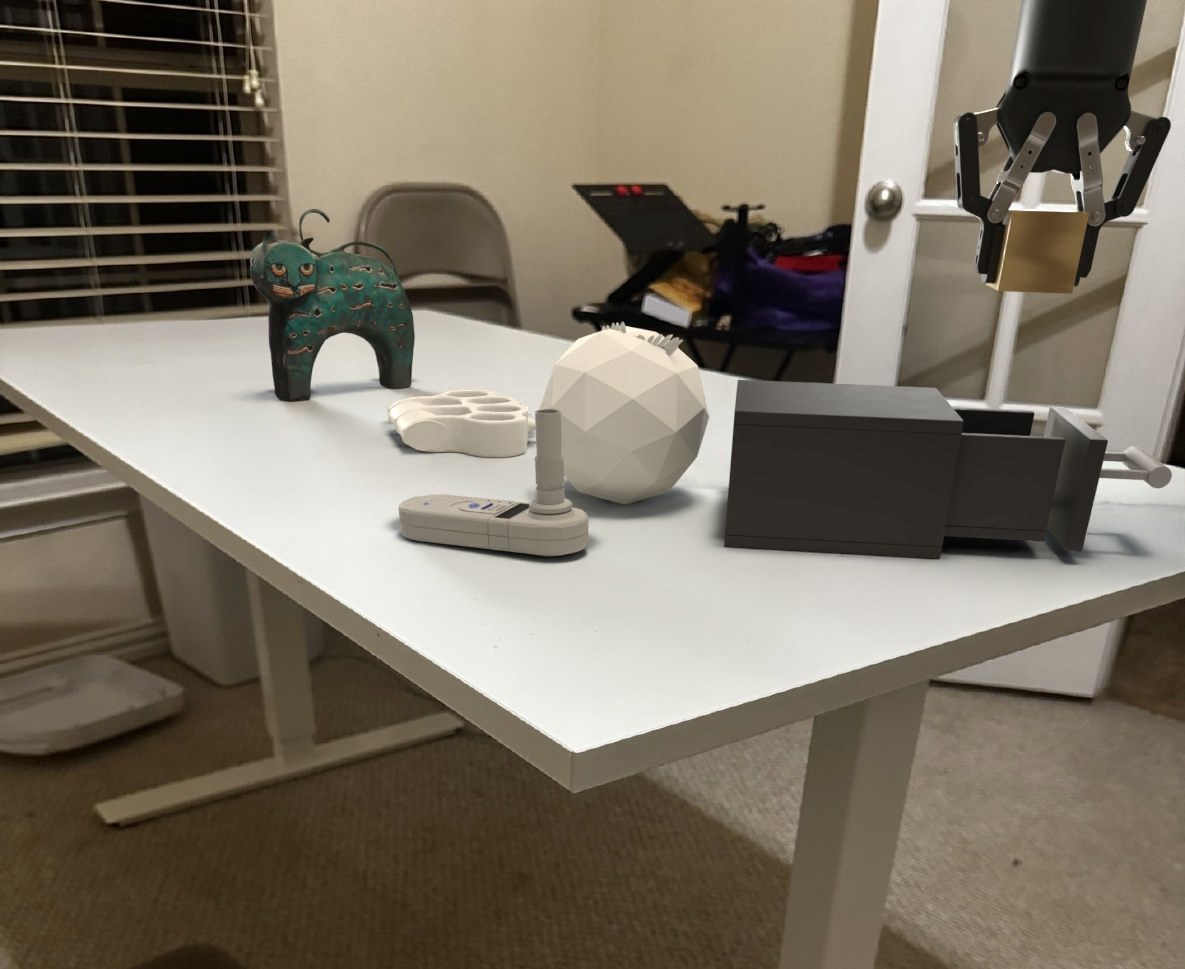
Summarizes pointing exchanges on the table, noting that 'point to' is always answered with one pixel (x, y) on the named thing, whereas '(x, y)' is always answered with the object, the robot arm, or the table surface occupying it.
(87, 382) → the table surface
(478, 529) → the electronic device
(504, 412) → the white tray with wells
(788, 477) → the dark grey box
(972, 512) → the open drawer
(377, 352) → the ceramic cat
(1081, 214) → the block
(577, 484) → the geodesic sphere
